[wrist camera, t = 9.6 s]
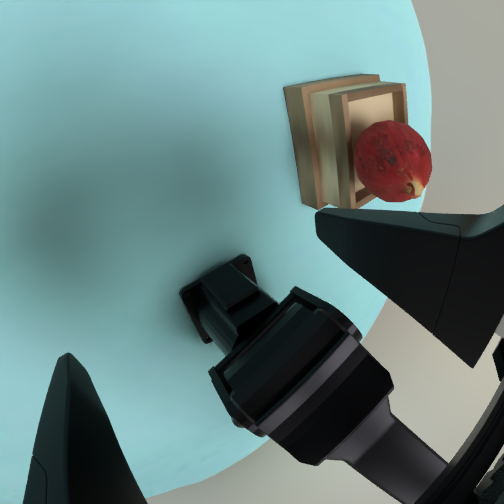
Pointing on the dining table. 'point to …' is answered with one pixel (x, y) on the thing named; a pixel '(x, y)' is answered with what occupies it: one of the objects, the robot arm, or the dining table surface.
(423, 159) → the pomegranate
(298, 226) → the dining table surface
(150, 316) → the dining table surface
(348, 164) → the pedestal
